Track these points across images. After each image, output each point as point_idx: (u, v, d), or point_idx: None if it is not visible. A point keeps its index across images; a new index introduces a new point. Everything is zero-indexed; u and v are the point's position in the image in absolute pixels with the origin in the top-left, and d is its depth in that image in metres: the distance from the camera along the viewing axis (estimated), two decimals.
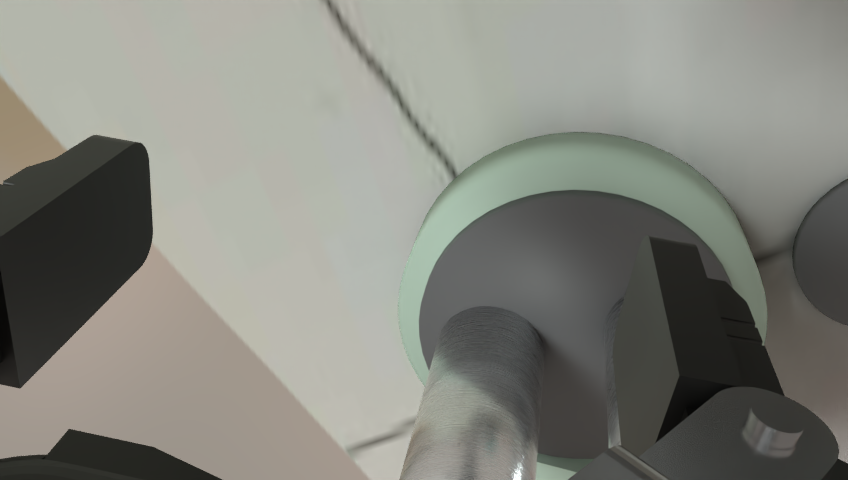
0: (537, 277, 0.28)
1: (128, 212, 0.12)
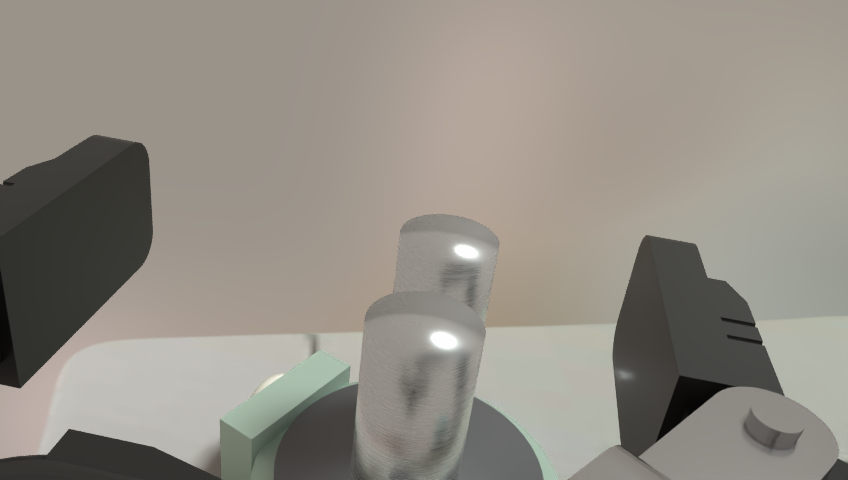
0: (479, 467, 0.34)
1: (127, 211, 0.12)
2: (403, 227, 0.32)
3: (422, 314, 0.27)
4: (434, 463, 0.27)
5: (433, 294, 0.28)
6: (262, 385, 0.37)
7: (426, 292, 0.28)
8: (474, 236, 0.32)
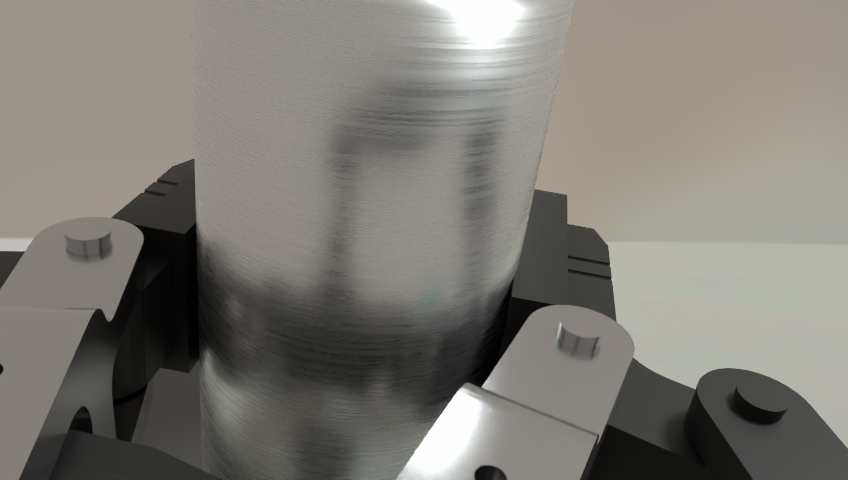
0: None
1: None
2: None
3: None
4: (413, 402, 0.09)
5: None
6: None
7: None
8: None
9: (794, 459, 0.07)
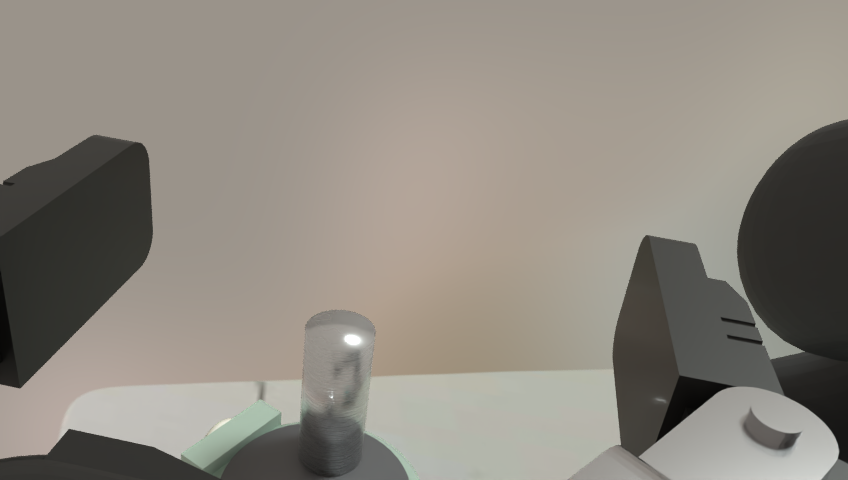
0: None
1: (128, 211, 0.12)
2: (308, 321, 0.46)
3: None
4: None
5: None
6: (214, 428, 0.51)
7: None
8: (358, 328, 0.46)
9: None
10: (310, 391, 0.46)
